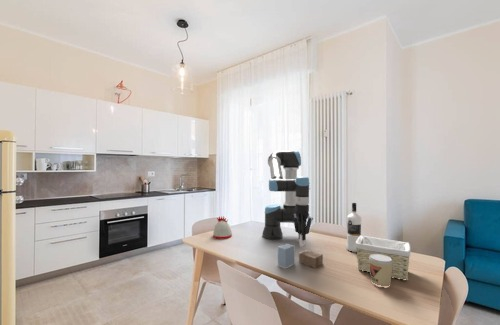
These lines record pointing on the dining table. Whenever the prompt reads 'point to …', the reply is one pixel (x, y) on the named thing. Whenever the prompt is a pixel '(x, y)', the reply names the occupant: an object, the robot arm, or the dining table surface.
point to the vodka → (353, 229)
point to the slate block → (286, 255)
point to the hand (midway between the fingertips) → (302, 245)
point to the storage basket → (384, 247)
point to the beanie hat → (222, 229)
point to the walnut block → (310, 258)
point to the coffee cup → (380, 269)
